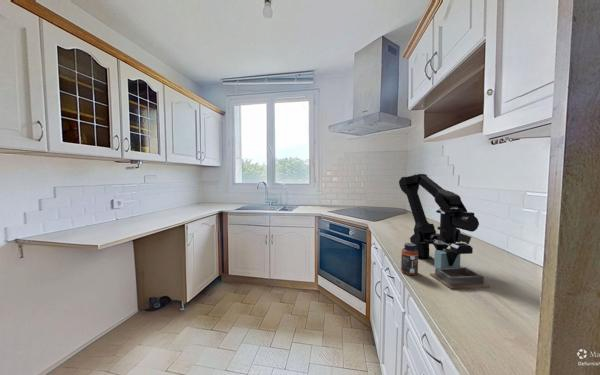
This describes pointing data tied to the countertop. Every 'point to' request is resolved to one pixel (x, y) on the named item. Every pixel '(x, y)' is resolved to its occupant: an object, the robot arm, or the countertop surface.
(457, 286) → the socket board
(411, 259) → the supplement bottle
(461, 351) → the countertop surface
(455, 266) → the cabinet block
